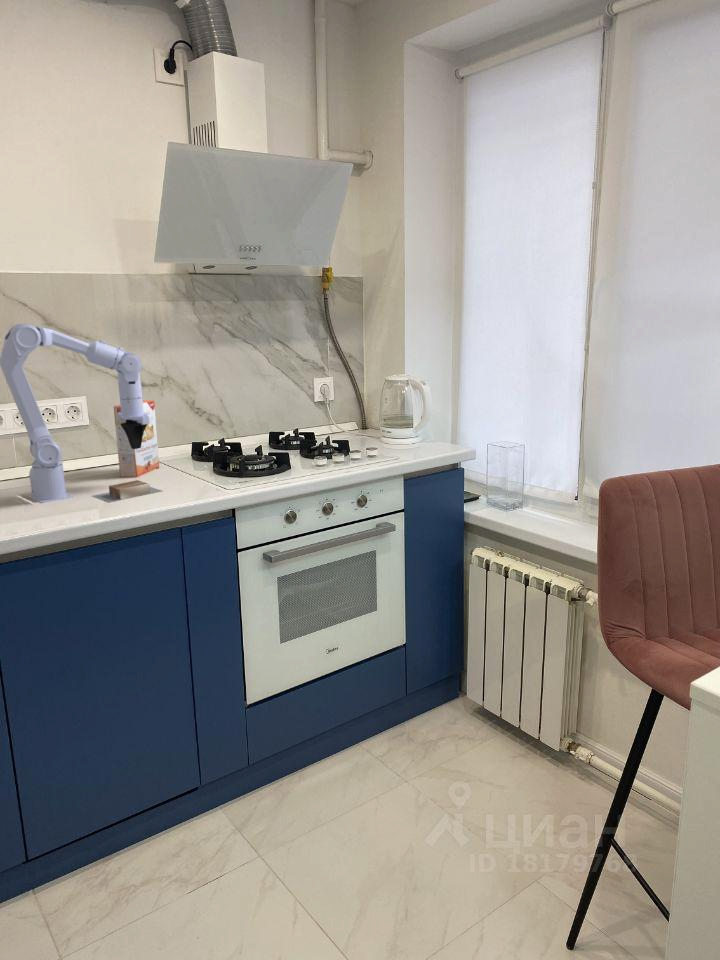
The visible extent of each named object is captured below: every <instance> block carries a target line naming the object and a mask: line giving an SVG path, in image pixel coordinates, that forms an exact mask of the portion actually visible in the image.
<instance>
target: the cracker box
mask: <svg viewBox="0 0 720 960" xmlns="http://www.w3.org/2000/svg"><path fill="white" fill-rule="evenodd" d="M142 400H143V410H144V413H148V416H149V419H150V424H147V426H146V428H145V430H144V433H143V437H142V444H141V448H138V449H132V448H131V446H130V443H129V440H128V437H127V435H126V433H125V431H124V429H123V428H122V427H121V423H125V422H126V420H118V416H117V413H120V412H121V405H120V404H116V405H114V406H113V413H114V414H113V415H114V425H115V435H116V436H115V437H116V445H117V446H116V447H117V456H118V457H117V459H118V466H119V467H118V469H119V476H120V478H138V477H139V478H140V477H142V476H143V475H145V474H147V473H150V472H152V471H154V470H158V469H160V459H159V458H160V457H159V447H158V434H157V433H158V432H157V420H156V419H157V418H156V408H155V400H152V399H142Z"/></svg>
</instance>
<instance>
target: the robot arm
mask: <svg viewBox="0 0 720 960" xmlns="http://www.w3.org/2000/svg"><path fill="white" fill-rule="evenodd" d="M106 343H107V342H106V341H104V340H101V339H100V340H93V341H91V342H89V343H88V342H85V341H82V340H80V339H77V338H75V337H72V336H71V335H67V334H65V333H62V332H59V331H57V330H54V329H51V328H46V327H41V326H34V325H32V324H29V323H18V324H15V325H13V326H12V327H11V328H10V329H9V330H8V332H7V333H6V335H5V336H4V340H3V343H2V344H3V345H2V349H1V353H0V369H1V371H2V373H3V376H4V378H5V381H6V383H7V386H8V388H9V390H10V393H11V395H12V398H13V400H14V403H15V405H16V407H17V410H18V412H19V415H20V417H21V420H22V423H23V424H24V427H25V429H26V431H27V436H28V439H29V441H30V445H29V452H30V454H31V456H32V457H33V458H34V460H33V461H32V463H31V468H30V470H29V472H28V473H29V474H28V475H29V482H30V490H31V494H30V495H28V497H27V498H30V499H32V500H34V501H36V502H37V503H40V504H44V503H50V502H55V501H59V500H64V499H65V500H66V499H69V498H73V494H69V493H67V488H66V487H67V486H66V480H65V472H64V465H63V460H61V458H62V455H63V453H62V448H61V447H60V446H59V445H58V444H57V443H56V442H55V441H54V440H53V437H52V434H51V432H50V431H49V429H48V427H47V425H46V422H45V419H44V417H43V415H42V412H41V409H40V406H39V405H38V403H37V399H36V397H35V395H34V393H33V390H32V387H31V385H30V383H29V380H28V376H27V374H26V372H25V370H24V368H23V366H24V364H25V362H26V361H27V359H28V357H29V355H30V354H32V352H34V351H35V350H36V349H37V348H38V347H48V346H49V347H51V346H56V347H59V348H62V349H66V350H68V351H72V352H75V353H77V354H81V355H84V356H85V358H86V360H87V362H89V363H90V364H91V363H92V364H93V365H97V366H100V367H103V368H106V369H108V370H115V371H116V372H117V383H118V393H119V403H120V404H119V405H121V412H120V413H117V416H118V420H126V422H125V423H121V427H122V428H123V429H124V431H125V433H126V435H127V437H128V440H129V443H130V446H131V448H132V449H138V448H141V444H142V437H143V433H144V430H145V428H146V426H147V424H150V419H149V416H148V413H144V410H143V400H144V399H143V391H142V382H141V374H140V372H141V370H142V367H143V363H142V362H141V359H140V357H138V355H137V354H135V353H133V352H127V351H125V349H124V348H123V347H114V346H112V345H109V344H106Z"/></svg>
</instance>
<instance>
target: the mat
mask: <svg viewBox="0 0 720 960" xmlns="http://www.w3.org/2000/svg"><path fill="white" fill-rule="evenodd" d="M162 492H163V490H161V489H158V488H155V487H152V486H150V494H145V495H140V496H135V497H131V498H126V499H119V498H116V497H113V496H111V495H110V492H105V493H99V494H94V495H92V497H93V498H96V499H98V500H101V501H103V502H106V503H108V504H109V503H114V502H119V501H124V500H128V499H133V498H139V497H143V496H147V495H153V494H157V493H162Z"/></svg>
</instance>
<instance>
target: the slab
mask: <svg viewBox="0 0 720 960" xmlns="http://www.w3.org/2000/svg"><path fill="white" fill-rule="evenodd" d="M150 485H151V484H150V483H147V482H146V481H145V482H144V481H141V480H137V479H136V480H132V481H127V482H121V483H117V484H112V485H108V490H109V492H110V495H111V496H113V497H116V498H119V499H124V500H127V499H126V498H129V499H132V498H131V497H134V498H136V497H135V496H138V497H141V496H140V495H143V496H146V495H145V494H148V495H151V494H150V487H151V486H150ZM109 492H108V493H109Z"/></svg>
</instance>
